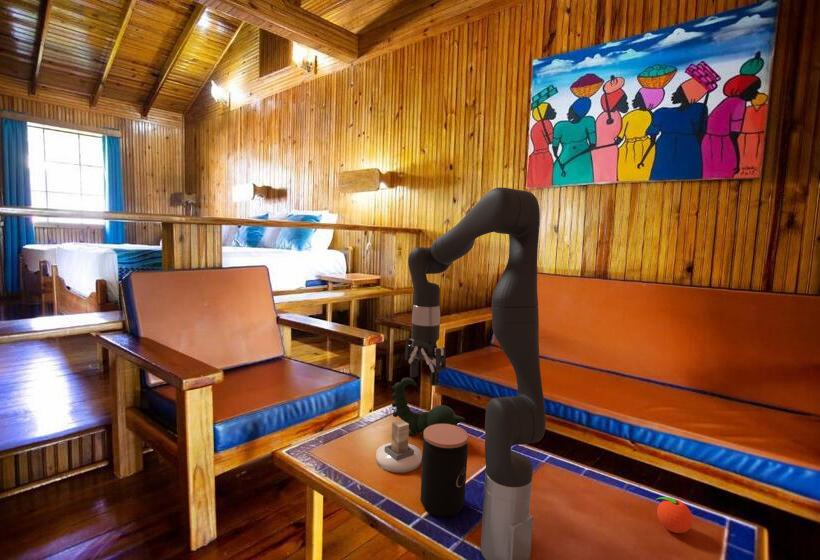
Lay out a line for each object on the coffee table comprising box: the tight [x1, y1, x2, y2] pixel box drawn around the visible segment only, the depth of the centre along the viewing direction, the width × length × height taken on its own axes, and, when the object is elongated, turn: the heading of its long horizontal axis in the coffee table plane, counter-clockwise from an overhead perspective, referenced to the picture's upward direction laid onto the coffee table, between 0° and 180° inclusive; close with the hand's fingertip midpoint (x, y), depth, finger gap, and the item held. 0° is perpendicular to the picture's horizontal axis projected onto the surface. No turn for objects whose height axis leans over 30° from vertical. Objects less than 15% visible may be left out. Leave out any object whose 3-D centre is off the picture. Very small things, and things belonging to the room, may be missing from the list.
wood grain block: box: [390, 419, 410, 455], centre depth 123 cm, size 3×3×9 cm
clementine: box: [656, 496, 694, 534], centre depth 99 cm, size 8×7×7 cm
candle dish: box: [375, 442, 423, 474], centre depth 124 cm, size 13×13×4 cm
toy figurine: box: [391, 377, 466, 439], centre depth 138 cm, size 9×19×25 cm
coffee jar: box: [419, 424, 469, 518], centre depth 104 cm, size 11×11×18 cm
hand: (423, 380), depth 118 cm, fingers open, 8 cm apart
